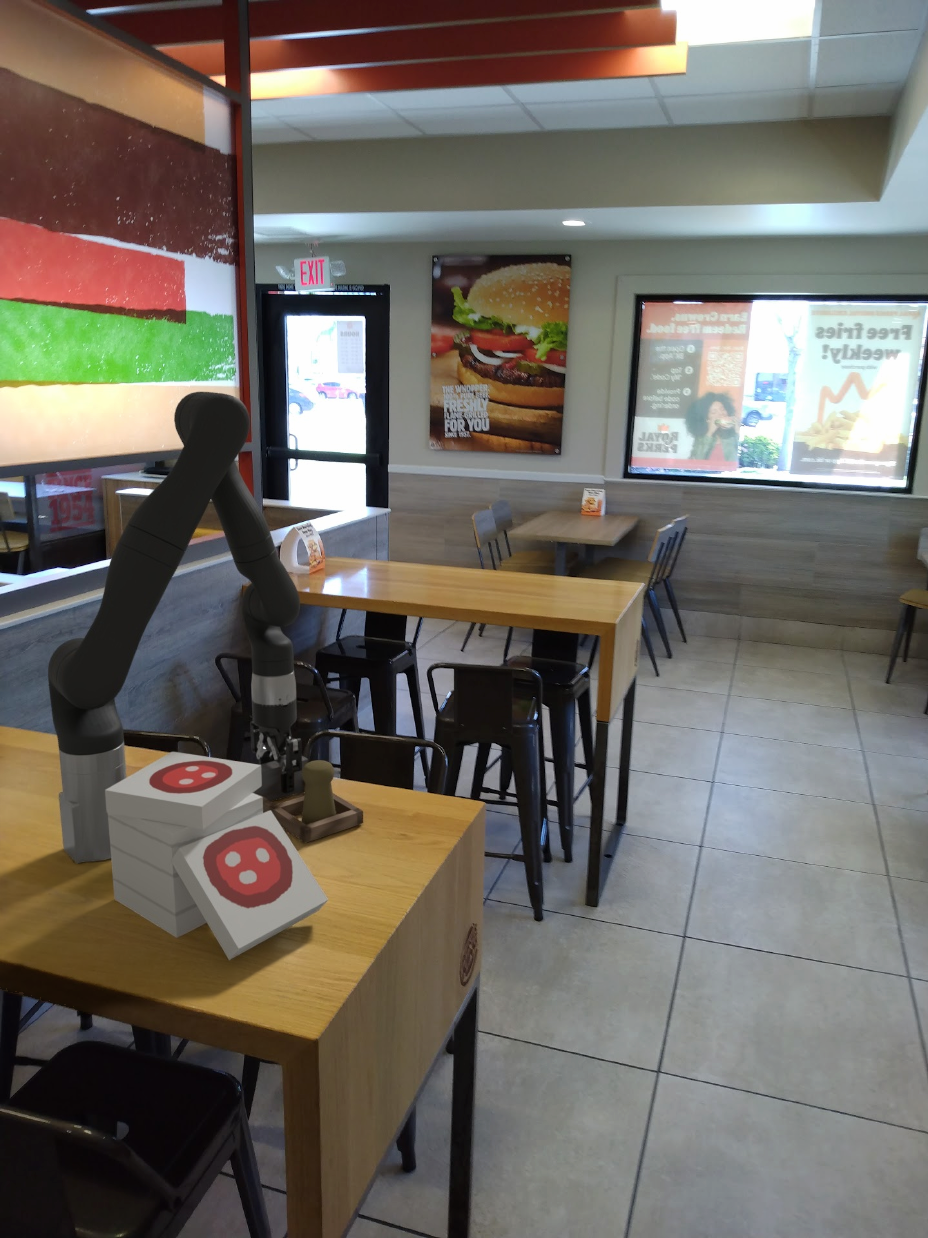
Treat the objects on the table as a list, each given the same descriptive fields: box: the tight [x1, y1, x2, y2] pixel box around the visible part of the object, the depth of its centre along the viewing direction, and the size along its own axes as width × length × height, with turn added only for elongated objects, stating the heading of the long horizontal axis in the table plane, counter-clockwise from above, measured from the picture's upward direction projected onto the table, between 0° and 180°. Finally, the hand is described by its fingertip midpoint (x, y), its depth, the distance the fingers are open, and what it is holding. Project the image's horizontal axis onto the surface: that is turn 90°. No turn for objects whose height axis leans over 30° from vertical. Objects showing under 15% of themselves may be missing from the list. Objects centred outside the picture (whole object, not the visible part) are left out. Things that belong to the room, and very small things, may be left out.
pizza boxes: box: [105, 751, 329, 961], centre depth 126 cm, size 19×30×18 cm, turn 51°
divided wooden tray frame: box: [253, 755, 364, 844], centre depth 157 cm, size 11×20×6 cm, turn 41°
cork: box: [300, 759, 337, 825], centre depth 152 cm, size 6×6×11 cm
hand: (276, 785), depth 163 cm, fingers open, 7 cm apart
